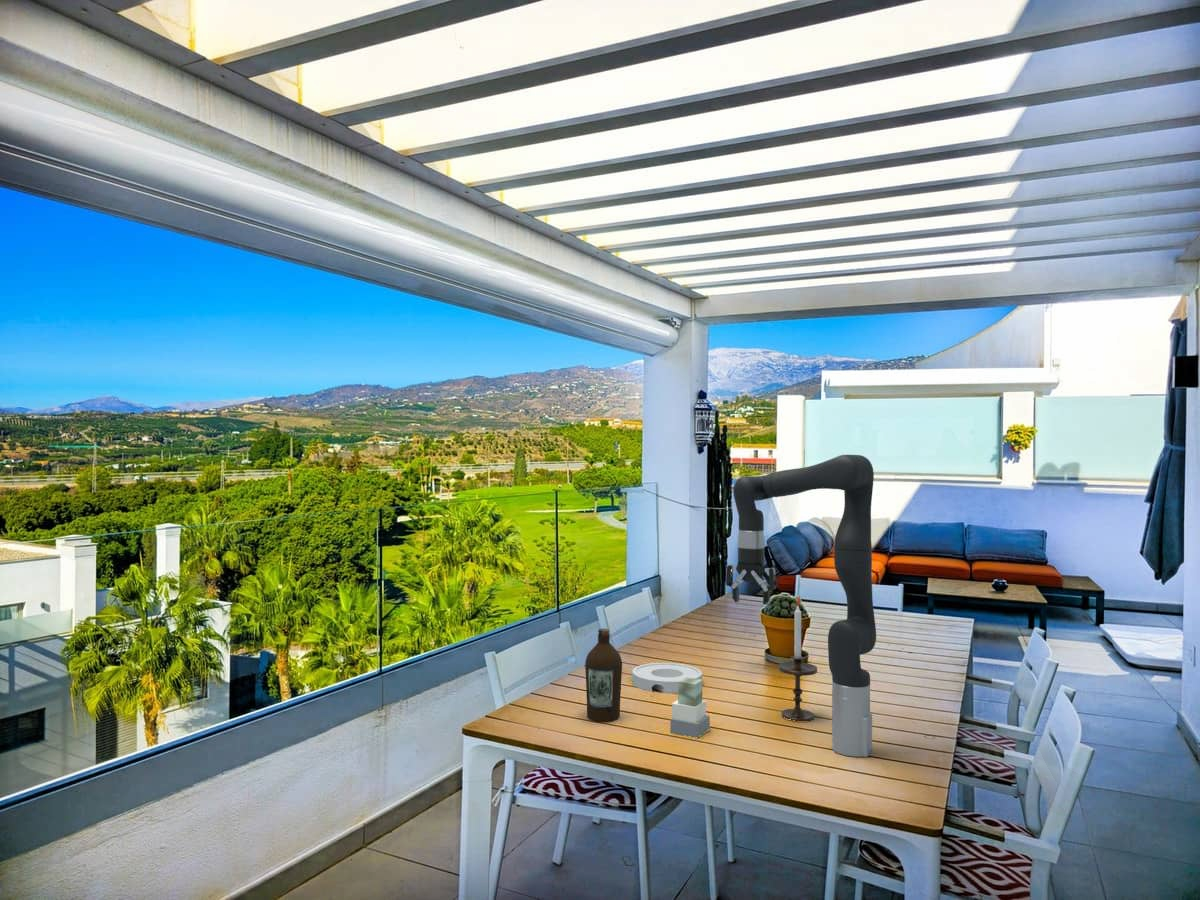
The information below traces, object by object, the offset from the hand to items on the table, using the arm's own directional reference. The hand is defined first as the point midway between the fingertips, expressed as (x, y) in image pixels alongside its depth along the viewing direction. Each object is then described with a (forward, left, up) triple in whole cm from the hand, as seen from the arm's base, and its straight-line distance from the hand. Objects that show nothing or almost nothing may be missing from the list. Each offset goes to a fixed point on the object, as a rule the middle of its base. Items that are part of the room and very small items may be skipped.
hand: (750, 602), depth 221 cm
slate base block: (+11, +18, -33) cm, 39 cm away
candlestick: (-11, -9, -33) cm, 36 cm away
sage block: (+11, +18, -25) cm, 33 cm away
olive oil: (+37, +20, -33) cm, 54 cm away
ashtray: (+36, -21, -34) cm, 54 cm away
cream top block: (+11, +18, -29) cm, 36 cm away
